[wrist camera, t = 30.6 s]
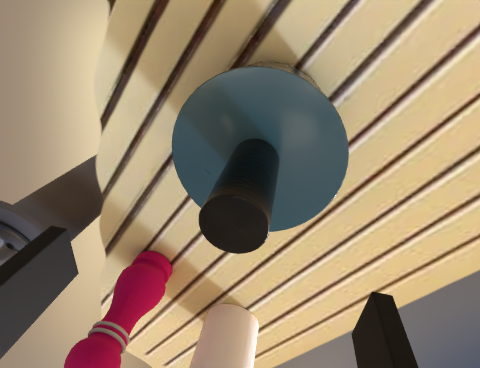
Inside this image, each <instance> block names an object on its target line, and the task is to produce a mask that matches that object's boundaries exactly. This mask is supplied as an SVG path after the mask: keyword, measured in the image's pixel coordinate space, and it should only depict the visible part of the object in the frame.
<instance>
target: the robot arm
mask: <svg viewBox="0 0 480 368" xmlns="http://www.w3.org/2000/svg"><path fill="white" fill-rule="evenodd" d="M77 274H78V269H77V265H76V262H75V258H74V254H73V250H72V246H71V242H70V238H69V234H68V231H67V229H65V228H60V227H55V226H51V227H49V228H48V229H47V230H45V231H44V232H43V233H42V234H40V235H39V236H38V237H36V238H35V239H34V240H33V241H30V240H29V239H28V238H27V237H26V236H24V235H23V234H22V233H21V232H19V231H18V230H16V229H15V228H13V227H11V226H9V225H7V224H5V223H3V222H0V359H1V358H2V357H3V355H5V353H6V352H7V351H8V350H9V349H10V348H11V347H12V346H13V345H14V344H15V342H16V341H17V340H18V339H19V338H20V337H21V336H22V335H23V334H24V333H25V332H26V330H27V329H28V328H29V327H30V326H31V325H32V324H33V323H34V322H35V321H36V319H37V318H38V317H39V316H40V315H41V314H42V313H43V312H44V311H45V309H46V308H47V307H48V306H49V305H50V304H51V303H52V302H53V301H54V300H55V299H56V297H57V296H58V295H59V294H60V293H61V292H62V291H63V290H64V289H65V288H66V286H67V285H68V284H69V283H70V282H71V281H72V280H73V279H74V278H75V277H76V276H77ZM352 339H353V344H354V350H355V355H356V361H357V366H358V368H418V365H417V362H416V360H415V357H414V354H413V351H412V349H411V346H410V343H409V340H408V338H407V335H406V332H405V330H404V327H403V324H402V321H401V319H400V316H399V313H398V310H397V307H396V305H395V302H394V299H393V296H391V295H387V294H382V293H377V292H372V293H371V295H370V297H369V299H368V301H367V303H366V305H365V307H364V309H363V311H362V314H361V316H360V318H359V320H358V322H357V324H356V326H355V328H354V330H353V333H352Z"/></svg>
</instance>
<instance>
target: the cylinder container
mask: <svg viewBox="0 0 480 368" xmlns="http://www.w3.org/2000/svg"><path fill="white" fill-rule="evenodd" d="M258 328H259V325H258V321H257V319H256V318H255V316H254V315H253V314H252V313H251V312H249V311H248V310H246V309H244V308H242V307H240V306H237V305H232V304H220V305H216V306H214V307H212V308H211V309H210V310H209V311H208V313H207V316H206V319H205V322H204V325H203V328H202V331H201V334H200V337H199V340H198V343H197V346H196V349H195V352H194V355H193V358H192V361H191V364H190V367H189V368H253V364H254V357H255V349H256V342H257V335H258Z"/></svg>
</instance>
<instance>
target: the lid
mask: <svg viewBox="0 0 480 368" xmlns="http://www.w3.org/2000/svg"><path fill="white" fill-rule="evenodd" d="M172 153H173V160H174V165H175V169H176V171H177V174H178V177H179V179H180V181H181V183H182V185H183V187H184V188H185V190H186V191H187V193H188V194H189V196H190V197H191V198H192V199H193V200H194V202H195V203H196V204H197V205H198V206H199V207H201V211H200V214H199V225H200V229H201V231H202V233H203V235H204V236H205V238H206V239H207V240H208V241H209V242H210V243H211V244H212V245H214V246H215V247H217V248H219V249H221V250H223V251H226V252H230V253H237V254H241V253H248V252H252V251H254V250H256V249H258V248H259V247H260V246H262V245H263V244H264V242H265V241H266V239H267V237H268V235H269V232H274V231H281V230H286V229H289V228H293V227H296V226H298V225H300V224H303V223H305V222H307V221H308V220H310V219H312V218H314V217H315V216H316V215H318V214H319V213H320V212H321V211H323V210H324V209H325V208H326V207H327V206H328V205H329V204H330V202H331V201H332V200H333V198H334V197H335V196H336V194H337V192H338V191H339V189H340V187H341V185H342V183H343V180H344V178H345V175H346V170H347V166H348V156H349V150H348V140H347V135H346V131H345V128H344V125H343V123H342V120H341V118H340V116H339V114H338V112H337V111H336V109H335V107H334V106H333V104H332V103H331V102H330V100H329V99H328V98H327V96H325V95H324V94H323V93H322V92H321V91H320V90H319V89H318V88H317V87H316V86H314V85H313V84H312V83H310V82H309V81H307V80H306V79H304V78H302V77H300V76H298V75H296V74H294V73H292V72H289V71H286V70H283V69H279V68H274V67H269V66H247V67H240V68H236V69H231V70H228V71H226V72H223V73H221V74H218V75H216V76H215V77H213V78H211V79H209V80H208V81H206V82H205V83H204V84H202V85H201V86H200V87H199V88H197V89H196V90H195V91H194V92H193V94H192V95H191V96H190V97H189V98H188V99H187V101H186V102H185V104H184V105H183V107H182V109H181V111H180V113H179V115H178V117H177V120H176V123H175V126H174V131H173V137H172Z"/></svg>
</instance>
